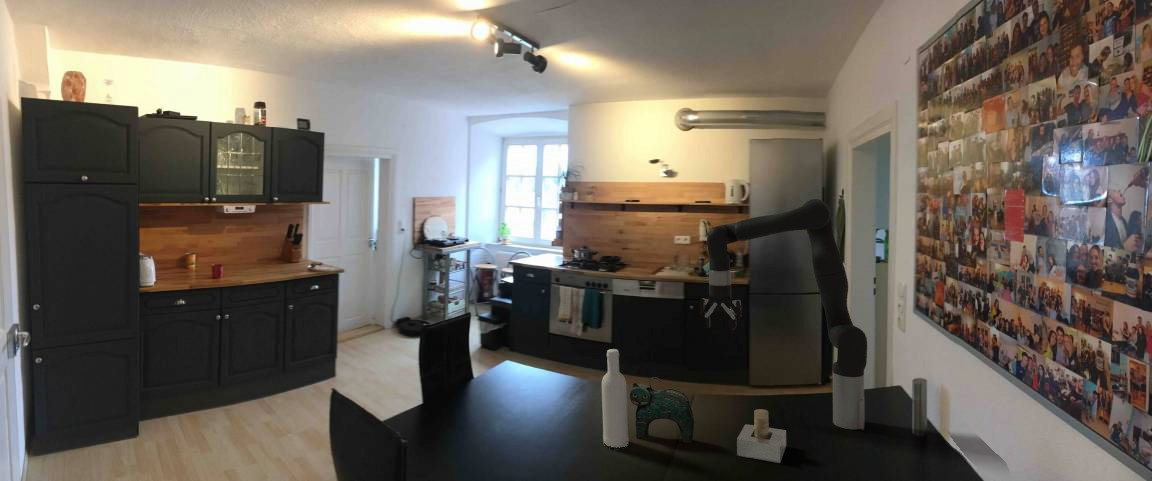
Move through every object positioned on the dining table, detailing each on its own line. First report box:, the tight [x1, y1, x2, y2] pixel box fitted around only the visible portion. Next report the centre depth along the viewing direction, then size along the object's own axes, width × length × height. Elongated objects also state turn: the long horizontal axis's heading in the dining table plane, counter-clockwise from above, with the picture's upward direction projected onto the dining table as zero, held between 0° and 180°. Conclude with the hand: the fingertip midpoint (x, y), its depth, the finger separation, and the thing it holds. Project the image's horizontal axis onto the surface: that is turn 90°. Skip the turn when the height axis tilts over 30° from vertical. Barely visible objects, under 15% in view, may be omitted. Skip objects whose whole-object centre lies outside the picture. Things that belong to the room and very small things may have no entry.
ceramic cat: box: [629, 376, 695, 444], centre depth 178 cm, size 20×6×20 cm, turn 70°
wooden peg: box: [753, 408, 770, 440], centre depth 167 cm, size 4×4×12 cm
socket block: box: [736, 424, 787, 464], centre depth 167 cm, size 12×12×5 cm
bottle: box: [601, 348, 629, 448], centre depth 175 cm, size 8×8×30 cm
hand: (721, 328), depth 197 cm, fingers open, 8 cm apart
